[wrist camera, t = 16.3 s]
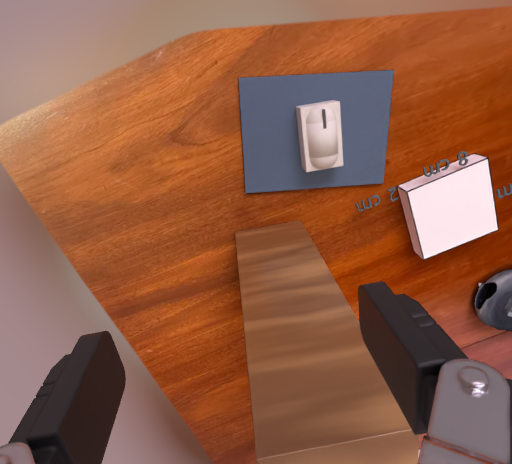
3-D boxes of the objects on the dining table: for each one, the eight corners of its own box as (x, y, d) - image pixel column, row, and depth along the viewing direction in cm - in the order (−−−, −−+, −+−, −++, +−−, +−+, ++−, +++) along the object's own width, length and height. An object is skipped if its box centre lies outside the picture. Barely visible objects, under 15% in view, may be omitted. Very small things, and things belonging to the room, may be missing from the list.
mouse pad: (245, 192, 41) (245, 193, 41) (238, 78, 36) (238, 78, 36) (382, 182, 42) (383, 183, 42) (392, 70, 37) (394, 69, 37)
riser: (234, 231, 43) (256, 459, 17) (300, 219, 43) (420, 428, 17) (250, 313, 48) (286, 588, 22) (309, 303, 48) (414, 562, 22)
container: (374, 268, 47) (382, 278, 44) (348, 189, 42) (357, 196, 40) (526, 206, 45) (544, 213, 43) (517, 118, 41) (536, 120, 38)
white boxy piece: (295, 105, 38) (302, 108, 34) (333, 99, 38) (344, 101, 34) (301, 167, 40) (309, 175, 37) (336, 161, 40) (347, 169, 37)
